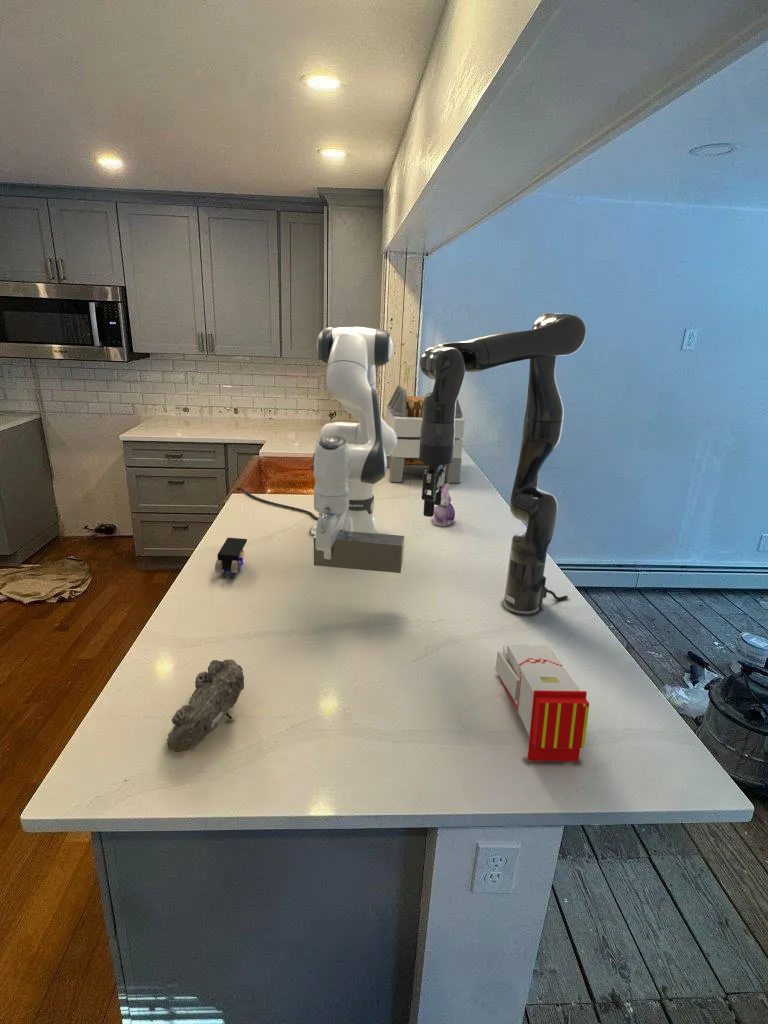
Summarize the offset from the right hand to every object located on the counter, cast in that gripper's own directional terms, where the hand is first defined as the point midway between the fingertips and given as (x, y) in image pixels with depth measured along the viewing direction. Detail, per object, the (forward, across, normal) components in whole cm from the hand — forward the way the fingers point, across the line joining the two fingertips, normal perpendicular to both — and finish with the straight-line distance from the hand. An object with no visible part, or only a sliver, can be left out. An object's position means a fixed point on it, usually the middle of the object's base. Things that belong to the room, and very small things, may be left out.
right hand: (432, 510), depth 130 cm
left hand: (+17, +5, +27) cm, 32 cm away
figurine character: (+31, +13, +61) cm, 70 cm away
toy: (+32, -23, -27) cm, 47 cm away
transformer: (+32, +139, +33) cm, 146 cm away
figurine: (+32, +76, +9) cm, 83 cm away
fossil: (+31, -45, +32) cm, 63 cm away
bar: (+20, +6, +19) cm, 28 cm away
